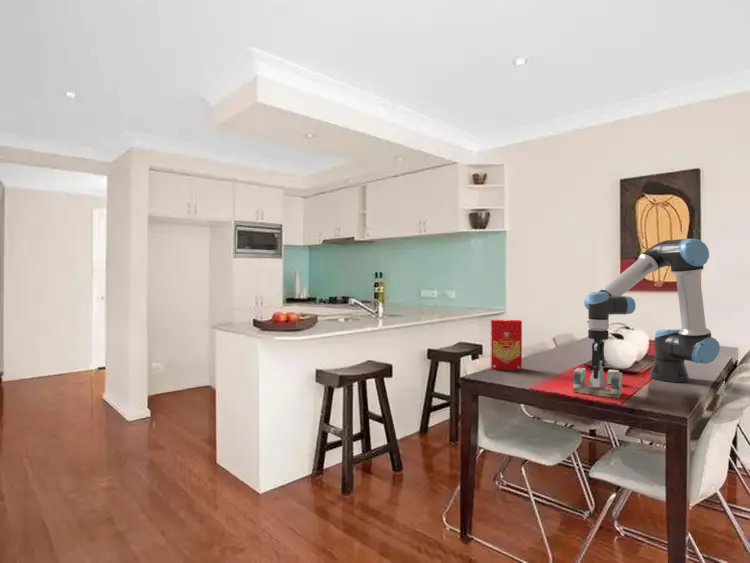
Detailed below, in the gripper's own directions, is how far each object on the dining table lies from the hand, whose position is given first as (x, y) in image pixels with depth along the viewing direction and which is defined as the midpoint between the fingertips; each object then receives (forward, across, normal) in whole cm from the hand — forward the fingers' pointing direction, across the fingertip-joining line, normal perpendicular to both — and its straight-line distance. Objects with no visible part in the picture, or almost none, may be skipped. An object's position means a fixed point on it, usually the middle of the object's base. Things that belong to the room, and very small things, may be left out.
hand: (597, 384), depth 188 cm
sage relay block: (+4, -19, +3) cm, 20 cm away
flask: (+1, 0, 0) cm, 1 cm away
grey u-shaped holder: (+4, 0, 0) cm, 4 cm away
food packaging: (+4, -23, -47) cm, 52 cm away
